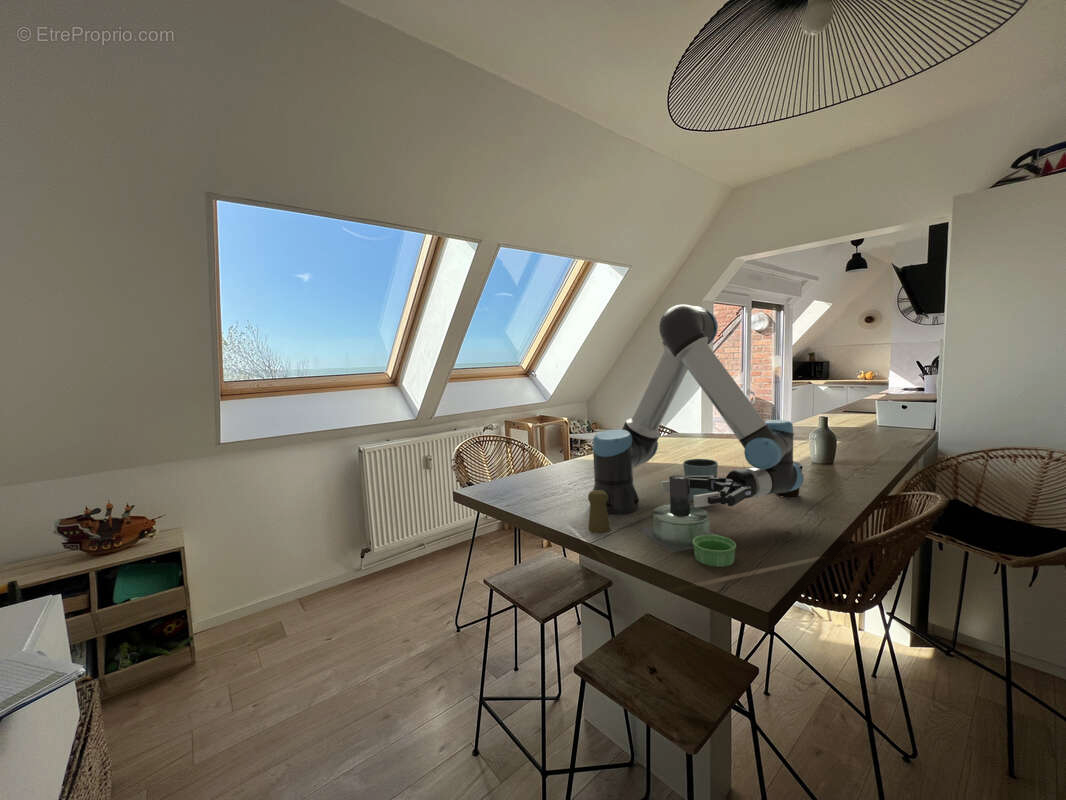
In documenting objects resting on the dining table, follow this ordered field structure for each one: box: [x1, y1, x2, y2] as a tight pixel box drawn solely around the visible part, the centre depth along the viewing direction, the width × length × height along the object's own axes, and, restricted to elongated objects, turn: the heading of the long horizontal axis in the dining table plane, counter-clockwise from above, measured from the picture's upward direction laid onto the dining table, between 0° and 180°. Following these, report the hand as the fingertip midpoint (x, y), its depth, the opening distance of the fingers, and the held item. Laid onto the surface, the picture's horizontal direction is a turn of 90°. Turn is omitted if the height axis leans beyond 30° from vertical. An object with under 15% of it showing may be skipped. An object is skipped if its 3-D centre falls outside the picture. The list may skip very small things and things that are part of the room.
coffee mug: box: [774, 460, 804, 498], centre depth 143 cm, size 12×9×10 cm
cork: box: [587, 489, 611, 534], centre depth 120 cm, size 6×6×11 cm
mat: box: [636, 525, 717, 554], centre depth 114 cm, size 16×16×1 cm
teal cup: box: [682, 458, 719, 502], centre depth 141 cm, size 10×10×12 cm
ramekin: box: [693, 534, 737, 568], centre depth 100 cm, size 9×9×4 cm
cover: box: [652, 474, 710, 546], centre depth 113 cm, size 13×13×15 cm
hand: (677, 493), depth 112 cm, fingers open, 13 cm apart
